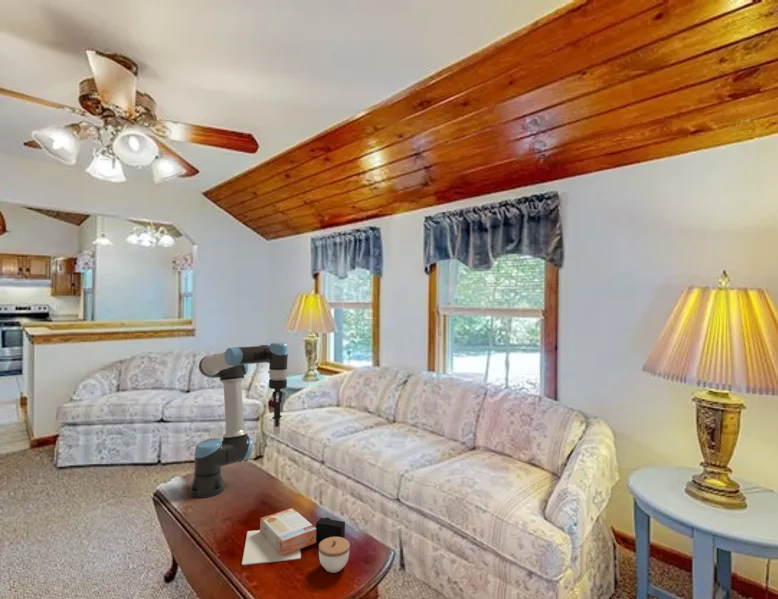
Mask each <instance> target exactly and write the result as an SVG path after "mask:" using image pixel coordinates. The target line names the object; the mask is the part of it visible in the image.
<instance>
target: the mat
mask: <svg viewBox="0 0 778 599" xmlns="http://www.w3.org/2000/svg"><path fill="white" fill-rule="evenodd" d="M301 557H302V553H301V549H299V550H296V551H294V552H291V553H289V554H286V555H284V556H282V555H281V554H280V553H279V552H278V551H277V550H276V549H275V547H274V546H273V545H272V544H271V543H270V542H269V541H268V540H267V539H266V538H265V537H264V535H263V534H262V533H261V532H260V529H258V530H248V531H247V532H246V538H245V544H244V549H243V556H242V561H241V566H251V565H258V564H260V565H261V564H267V563H275V562H286V561H294V560H301V559H302V558H301Z"/></svg>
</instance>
